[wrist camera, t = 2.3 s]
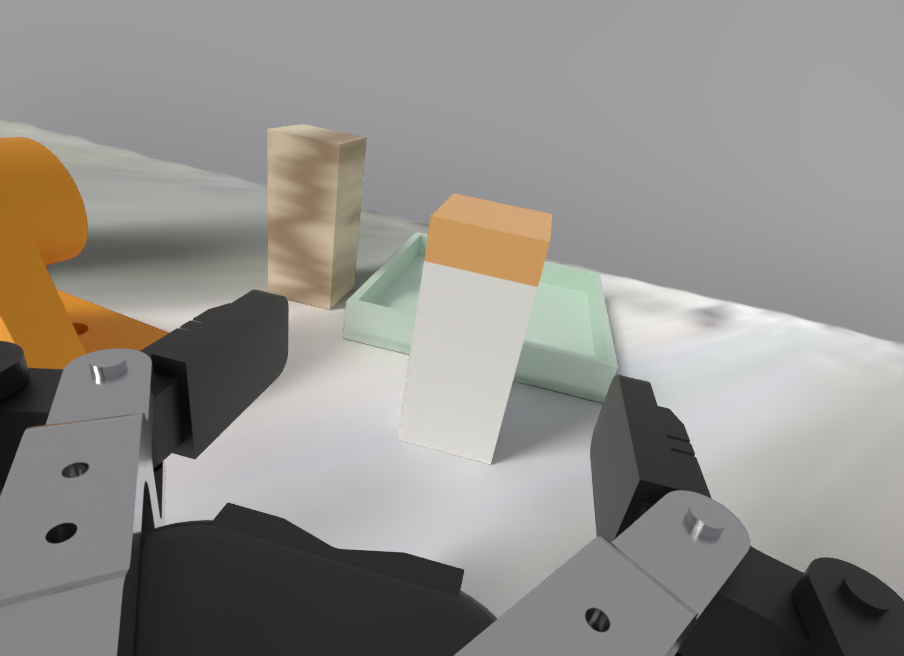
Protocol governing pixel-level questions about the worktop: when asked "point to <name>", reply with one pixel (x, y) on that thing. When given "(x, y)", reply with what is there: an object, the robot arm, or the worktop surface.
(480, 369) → the labelled box
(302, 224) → the plain box
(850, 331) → the worktop surface
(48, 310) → the bracket
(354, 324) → the tray
